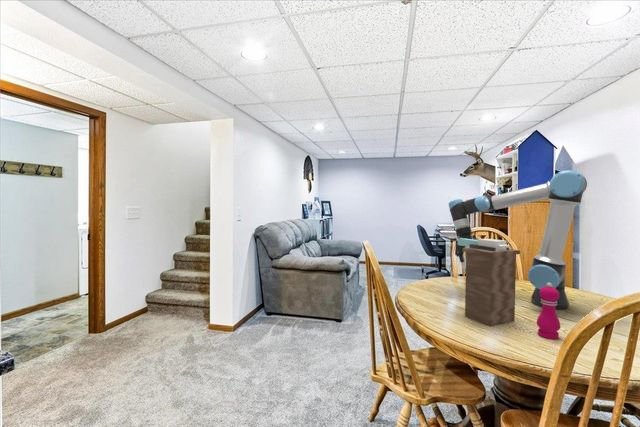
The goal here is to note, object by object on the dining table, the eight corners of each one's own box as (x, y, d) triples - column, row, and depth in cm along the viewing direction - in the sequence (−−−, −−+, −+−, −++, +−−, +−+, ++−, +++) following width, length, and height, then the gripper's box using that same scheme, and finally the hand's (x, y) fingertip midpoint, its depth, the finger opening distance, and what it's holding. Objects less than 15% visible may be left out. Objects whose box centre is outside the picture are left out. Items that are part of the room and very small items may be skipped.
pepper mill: (534, 336, 118) (536, 282, 118) (538, 330, 124) (539, 279, 123) (558, 341, 113) (560, 286, 113) (561, 335, 119) (562, 282, 118)
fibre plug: (465, 244, 151) (465, 236, 151) (510, 251, 130) (511, 241, 130) (456, 245, 149) (456, 236, 149) (500, 251, 127) (500, 241, 127)
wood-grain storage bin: (489, 311, 146) (490, 243, 145) (518, 321, 133) (520, 246, 132) (461, 316, 139) (462, 244, 138) (489, 327, 126) (491, 248, 125)
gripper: (471, 228, 180) (482, 265, 175) (441, 230, 168) (452, 270, 162) (483, 224, 174) (494, 263, 168) (452, 227, 161) (464, 268, 156)
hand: (473, 267), depth 165 cm, fingers open, 13 cm apart
